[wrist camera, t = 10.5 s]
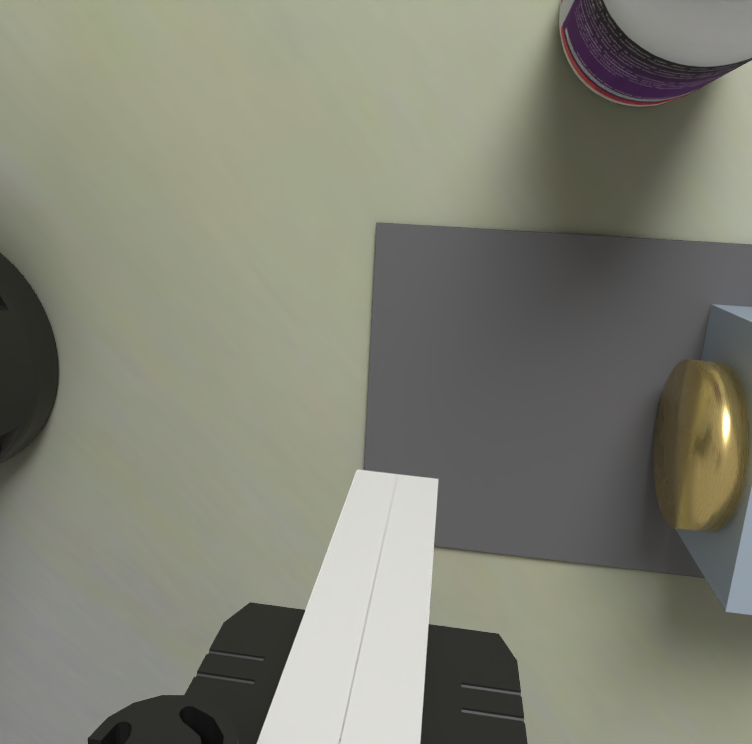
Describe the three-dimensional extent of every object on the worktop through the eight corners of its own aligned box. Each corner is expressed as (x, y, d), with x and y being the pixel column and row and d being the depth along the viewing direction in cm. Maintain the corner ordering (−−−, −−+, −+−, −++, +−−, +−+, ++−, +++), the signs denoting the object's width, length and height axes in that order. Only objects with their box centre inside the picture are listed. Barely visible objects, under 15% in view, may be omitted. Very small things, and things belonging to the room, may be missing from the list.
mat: (361, 535, 40) (360, 537, 40) (377, 222, 35) (376, 222, 35) (874, 595, 36) (878, 598, 36) (966, 257, 32) (970, 257, 32)
